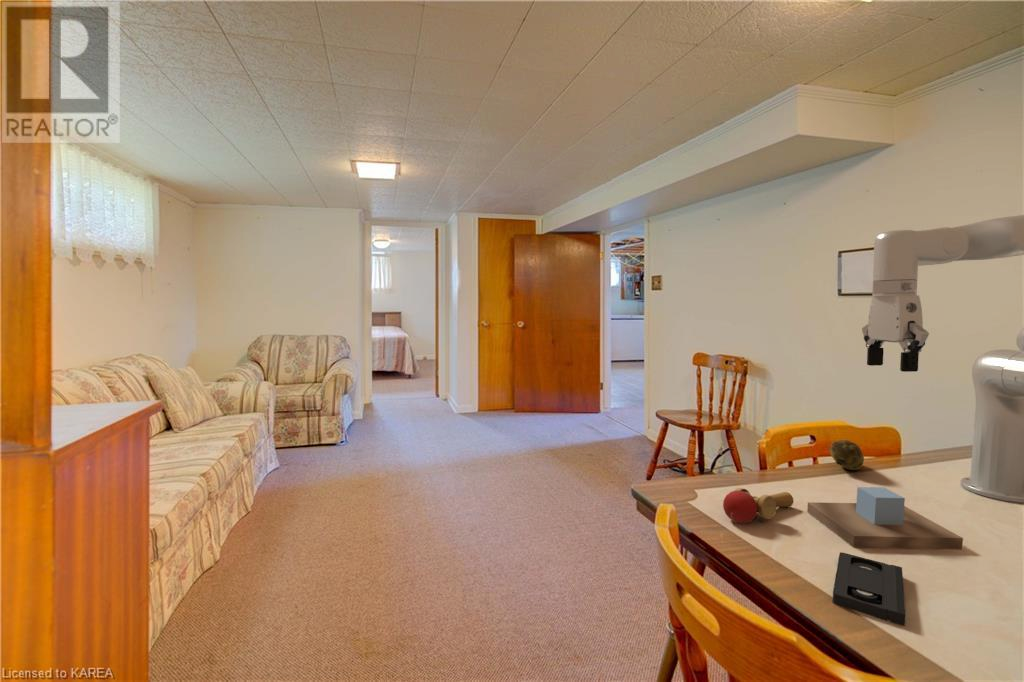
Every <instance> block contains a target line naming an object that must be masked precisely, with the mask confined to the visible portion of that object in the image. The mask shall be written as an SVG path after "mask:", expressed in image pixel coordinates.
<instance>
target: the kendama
mask: <svg viewBox="0 0 1024 682" xmlns="http://www.w3.org/2000/svg"><path fill="white" fill-rule="evenodd" d="M793 504H794V497H793V495H792V494H791V493H789V492H787V491H782V492H779V493H774V494H769V495H768V494H763V495H761V496H759V497H757V496H754V495H751V493H750V492H749V490H748V489H746V488H743V487H737V488H735V489H733V490H732V491H730V492H729V493H727V494H726V495H725V497H724V499H723V503H722V507H723V511H724V513H725V515H726V516H727V517H728V519H730V520H732V521H733V522H734V523H737V524H739V523H740V524H749V523H750V522H752V521H753V520H754V519H756V516H757V515H759V516H760V517H761V518H763V519H764V520H765V519H766V520H769V519H772V518H773V517H774V516H775V515H776V511H777V508H782V507H783V508H789V507H792V505H793Z"/></svg>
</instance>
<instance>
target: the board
mask: <svg viewBox="0 0 1024 682" xmlns="http://www.w3.org/2000/svg"><path fill="white" fill-rule="evenodd" d="M856 503H857V502H814V501H813V502H809V501H808V502H807V513H808V514H809V515H810V516H812V517H813V518H815V520H817V521H818V520H819V522H820V523H821V524H822V525H824V526H825V527H826V528H827V529H829V530H830V531H832V532H833V533H834V534H836V536H838V537H839V538H841V539H842V540H843V541H844V542H846V543H847V544H848V545H850V546H851V547H852V548H872V549H873V548H874V549H875V548H877V549H879V548H880V549H881V548H882V549H885V548H886V549H924V550H926V549H927V550H928V549H929V550H932V549H933V550H934V549H935V550H963V541H964V538H963V537H962V536H960V535H959V534H956V533H955V532H953V531H951V530H949V529H947V528H945V527H944V526H942V525H940V524H938V523H936V522H934V521H933V520H931V519H929V518H928V517H925V516H923V514H922V515H921V514H920V513H918V512H916V511H914V510H913V509H911V508H909V507H907V506H905V505H904V518H903V525H876V524H873V523H871V522H870V521H868V520H867V519H865V518H864V517H862V516H861V515H859V514H858V513H856Z"/></svg>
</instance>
